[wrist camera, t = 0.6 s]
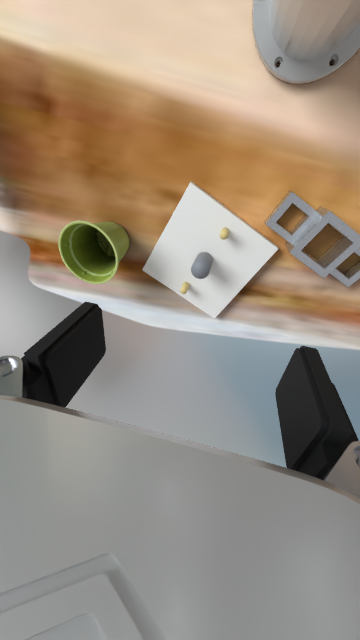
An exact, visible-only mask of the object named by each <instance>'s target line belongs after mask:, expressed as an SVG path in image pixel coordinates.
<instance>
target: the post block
mask: <svg viewBox="0 0 360 640" xmlns="http://www.w3.org/2000/svg"><path fill="white" fill-rule="evenodd" d="M277 250H278V247H277V246H276V245H275V244H274V243H272V242H271V241H270V240H268V239H267V238H266V237H264V236H263V235H262V234H261V233H259V232H258V231H257V230H255V229H254V228H253V227H251V226H250V225H249V224H247V223H246V222H245V221H243V220H242V219H241V218H239V217H238V216H237V215H235V214H234V213H233V212H231V211H230V210H229V209H227V208H226V207H225V206H223V205H222V204H221V203H219V202H218V201H217V200H216V199H214V198H213V197H212V196H210V195H209V194H208V193H206V192H205V191H204V190H202V189H201V188H200V187H198V186H197V185H196V184H194V183H193V182H190V184H189V186H188V188H187V190H186V191H185V193H184V195H183V197H182V199H181V200H180V202H179V204H178V206H177V208H176V209H175V211H174V213H173V215H172V217H171V219H170V220H169V222H168V224H167V226H166V228H165V229H164V231H163V233H162V235H161V237H160V239H159V240H158V242H157V244H156V246H155V248H154V249H153V251H152V253H151V255H150V257H149V258H148V260H147V262H146V264H145V266H144V268H143V269H142V270H143V271H144V272H146V273H147V274H149V275H150V276H152V277H153V278H155V279H156V280H158V281H159V282H161V283H162V284H164V285H165V286H167V287H168V288H170V289H171V290H173V291H174V292H176V293H177V294H179V295H180V296H182V297H183V298H185V299H186V300H188V301H189V302H191V303H192V304H193V305H195V306H196V307H198V308H199V309H201V310H202V311H204V312H205V313H207V314H208V315H210V316H211V317H213V318H214V319H215V318H216V316H217V315H218V314H219V313H220V312H221V311H222V310H223V309H224V308H225V307H226V306H227V304H228V303H229V302H230V301H231V300H232V299H233V298H234V297H235V296H236V295H237V294H238V292H239V291H240V290H241V289H242V288H243V287H244V286H245V285H246V284H247V283H248V281H249V280H250V279H251V278H252V277H253V276H254V275H255V274H256V273H257V272H258V271H259V269H260V268H261V267H262V266H263V265H264V264H265V263H266V262H267V261H268V260H269V259H270V257H271V256H272V255H273V254H274V253H275V252H276V251H277Z"/></svg>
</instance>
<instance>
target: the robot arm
mask: <svg viewBox="0 0 360 640" xmlns="http://www.w3.org/2000/svg"><path fill="white" fill-rule="evenodd" d="M252 18H253V34H254V39H255V45H256V48H257V50H258V53H259V56H260V58H261V60H262V62H263V63H264V65H265V67H266V68H267V69H268V70H269V71H270V72H271V73H272V74H273V75H274V76H275V77H277V78H279V79H281V80H282V81H285V82H289V83H293V84H305V83H309V82H313V81H317V80H319V79H321V78H323V77H325V76H327V75H330V74H331V73H332V72H334V71H335V70H337V69H338V68H339V67H341V66H342V65H343V64H344V63H345V62H346V61H348V60H349V59H350V58H351V57H352V56H353V55H354V54H355V53H356V52H357V50H358V49H359V48H360V0H262V1H260V0H253V11H252ZM331 60H333V62H334V64H333V66H330V65H329V62H330V61H331ZM277 62H279V63H280V66H279V67H278V68H277V67H276V66H275V64H276V63H277ZM105 351H106V347H105V337H104V328H103V318H102V310H101V308H99V306H98V305H97V304H94V303H89V302H85V303H83V304H82V305H81V306H80V307H79V308H77V309H76V310H75V311H74V312H72V313H71V314H70V315H69V316H68V317H67V318H66V319H64V320H63V321H62V322H61V323H59V324H58V325H57V326H56V327H55V328H53V329H52V330H51V331H50V332H49V333H47V335H45V336H44V337H43V338H42V339H40V340H39V341H38V342H37V343H36V344H35V345H33V346H32V347H31V348H30V349H28V350H27V351H26V352H25V353H24V354H25V356H24V357H23V358H21V359H20V358H19V357H16V356H2V357H0V640H360V441H359V440H358V438H357V436H356V433H355V431H354V429H353V426H352V424H351V422H350V420H349V417H348V415H347V413H346V410H345V408H344V406H343V404H342V401H341V399H340V397H339V394H338V392H337V390H336V388H335V386H334V384H333V383H331V380H330V378H329V376H328V373H327V371H326V369H325V366H324V364H323V362H322V360H321V357H320V355H319V352H318V350H317V349H315V348H310V347H305V346H302V347H300V349H299V348H297V349H296V350H295V351H294V354H293V355H292V358H291V359H290V362H289V364H288V366H287V368H286V370H285V372H284V374H283V376H282V378H281V380H280V382H279V384H278V386H277V388H276V401H277V408H278V415H279V421H280V427H281V433H282V440H283V447H284V453H285V459H286V465H287V468H285V467H281V466H277V465H274V464H270V463H267V462H264V461H261V460H257V459H254V458H250V457H246V456H243V455H239V454H235V453H232V452H228V451H225V450H221V449H218V448H214V447H210V446H207V445H203V444H199V443H196V442H191V441H188V440H185V439H181V438H177V437H173V436H170V435H166V434H163V433H158V432H155V431H151V430H148V429H144V428H140V427H136V426H133V425H129V424H125V423H121V422H118V421H114V420H110V419H106V418H103V417H99V416H95V415H91V414H87V413H83V412H79V411H76V410H72V409H68V408H65V407H66V406H67V405H68V403H69V402H70V400H71V399H72V398H73V396H74V395H75V394H76V392H77V391H78V390H79V388H80V387H81V386H82V384H83V383H84V382H85V380H86V379H87V377H88V376H89V375H90V374H91V372H92V371H93V369H94V368H95V367H96V365H97V364H98V363H99V361H100V360H101V359H102V357H103V356H104V354H105Z"/></svg>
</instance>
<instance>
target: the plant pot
mask: <svg viewBox="0 0 360 640" xmlns="http://www.w3.org/2000/svg"><path fill="white" fill-rule="evenodd" d="M101 240H102V241H103V244H104V246H105V247H103V245H102V244H101ZM128 248H129V237H128V235H127V233H126V231H125V230H124V228H123V227H121V226H120V225H118V224H116V223H114V222H103V223H94V224H93V223H90V222H87V221H74V222H71V223H69V224H67V225H66V226H65V227H64V228H63V230H62V231H61V233H60V236H59V250H60V254H61V257H62V259H63V261H64V263H65V265H66V266H67V268H68V269H69V270H70V271H71V272H72V273H73V274H74V275H75V276H76V277H78V278H79V279H81V280H83V281H85V282H87V283H91V284H102V283H105V282H107V281H109V280H110V279H111V278H112V277H113V276H114V275H115V273H116V272H117V269H118V264H119V262H120V260H121V259H122V258H123V257H124V255H125V254H126V253H127V251H128Z"/></svg>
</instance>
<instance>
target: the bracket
mask: <svg viewBox="0 0 360 640" xmlns="http://www.w3.org/2000/svg"><path fill="white" fill-rule="evenodd" d="M292 203H293V204H294V205H295V206H297V207H298V208H299V209H301V210H302V211H303V212H304V213H306V215H305V216H304V217H303V218H302V219H301V220H300V221H299V222H298V224H297V225H296V226H295V227H294V228H293V229H292V230H291V231H290V232H289V231H288V230H286V229H285V228H284V227H282V226H281V225H280V224H278V223H277V221H278V219H279V218H280V217H281V216H282V215H283V213H284V212H285V211H286V210H287V209H288V208H289V206H290V205H291V204H292ZM264 222H265V224H266V225H267V226H269V227H270V228H271V229H273V230H274V231H275V232H277V233H278V234H279V235H280V236H282V237H283V238H284V239H286V240H287V241H288V242H287V243H286V244H285V246H286V247H287V249H288V251H289V253H291V254H292V255H293V256H295V257H296V258H297V259H299V260H300V261H301V262H303V263H304V264H305V265H307V266H308V267H309V268H311V269H312V270H313V271H315V272H316V273H317V274H318V275H320V276H321V277H322V278H325V277H326V276H327V275H328V274H329V273H330V274H331V275H333V276H334V277H335V278H337V279H338V280H339V281H341V282H342V283H343V284H344V285H346V286H347V287H349V286H351V285H352V284H353V283H354V282H356V281H357V280H358V279H359V278H360V261H359V262H358V263H357V264H356V265H354V266H353V267H352V268H351V269H350V270H348V271H347V272H346V273H345V274H343V273H342V272H341V271H339V270H338V269H337V268H336V267H337V266H339V265H340V264H341V263H342V262H343V261H344V260H345V259H347V258H348V257H349V256H350V255H351V254H352V253H354V252H355V253H356V254H357V255H358V256H360V235H359V234H358V233H356V232H355V231H354V230H353V229H351V228H350V227H349V226H348V225H347V224H345V223H344V222H343V221H342V220H340V219H339V218H338V217H337V216H335V215H334V214H333V213H332V212H331V211H329V210H327V209H325V208H323V207H321V206H320V208H319V209H318V210H317V211H315V210H314V209H313V208H312V207H310V206H309V205H308V204H307V203H305V202H304V201H303V200H302V199H300V198H299V197H298V196H297V195H296V194H294V193H293V192H292V191H289V192H288V193H287V194H286V195H285V197H284V198H283V199H282V200H281V202H280V203H279V204H278V205H277V207H276V208H275V209H274V210H273V211H272V213H271V214H270V215H269V216H268V218H267V219H266V220H265V221H264ZM327 224H329V225H330V226H331V227H333V228H334V229H335V230H336V231H338V232H339V233H340V234H341V235H343V236H342V237H341V238H340V239H339V240H338V241H337V242H335V243H334V244H333V245H332V246H331V247H330V248H329V249H328V250H327V251H326V252H325V253H324V254H323V255H322V256H321V257H320V258H319V259H317V260H316V259H315V258H314V257H313V256H311V255H310V254H309V253H307V252H306V251H305V250H303V248H304V247H305V246H306V245H307V244H308V243H309V242H310V241H311V240H312V239H313V238H314V237H315V236H316V235H317V234H318V233H319V232H320V231H321V230H322V229H323V228H324V227H325V226H326V225H327Z"/></svg>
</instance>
